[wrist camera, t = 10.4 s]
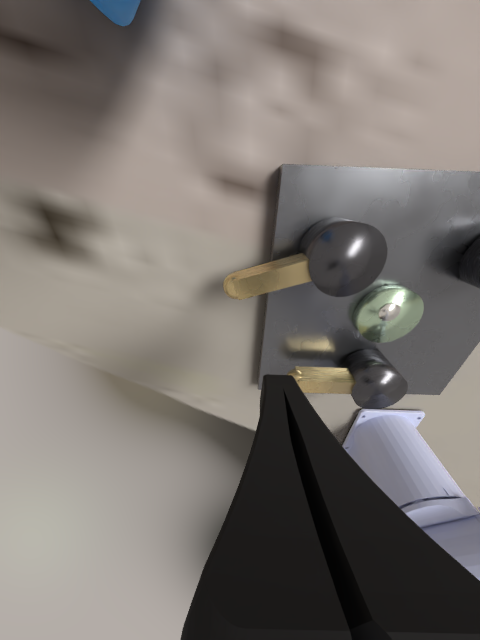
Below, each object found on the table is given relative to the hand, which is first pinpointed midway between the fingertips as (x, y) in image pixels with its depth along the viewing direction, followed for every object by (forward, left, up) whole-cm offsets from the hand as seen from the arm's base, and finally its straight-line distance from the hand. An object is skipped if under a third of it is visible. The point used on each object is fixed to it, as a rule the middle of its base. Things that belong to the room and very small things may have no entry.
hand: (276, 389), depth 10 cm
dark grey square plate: (0, -10, -10) cm, 15 cm away
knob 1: (+4, -2, -9) cm, 10 cm away
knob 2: (-6, -8, -9) cm, 13 cm away
